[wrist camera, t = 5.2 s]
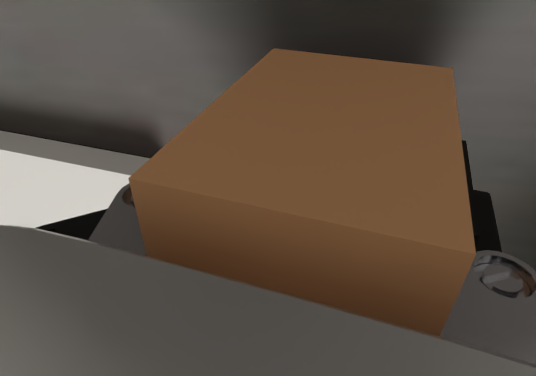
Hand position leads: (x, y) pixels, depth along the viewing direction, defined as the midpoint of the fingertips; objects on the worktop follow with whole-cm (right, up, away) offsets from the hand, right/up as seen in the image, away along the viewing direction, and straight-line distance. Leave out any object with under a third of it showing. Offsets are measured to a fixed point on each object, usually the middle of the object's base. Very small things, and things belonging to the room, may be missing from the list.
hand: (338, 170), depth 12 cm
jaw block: (0, +1, +1) cm, 1 cm away
